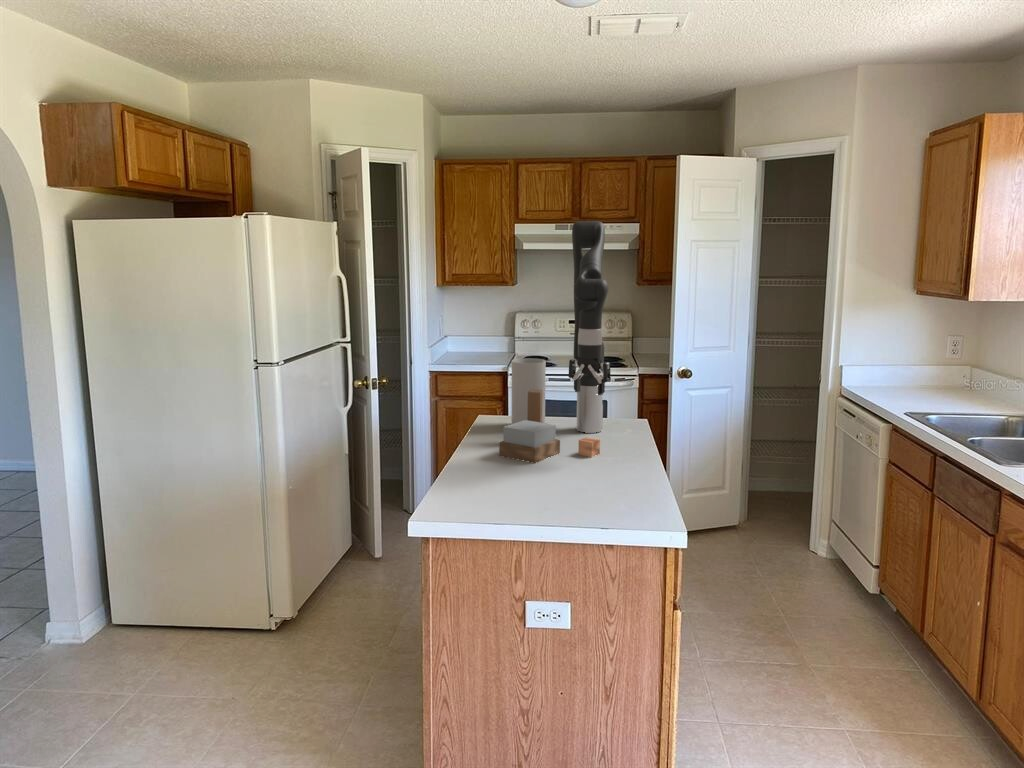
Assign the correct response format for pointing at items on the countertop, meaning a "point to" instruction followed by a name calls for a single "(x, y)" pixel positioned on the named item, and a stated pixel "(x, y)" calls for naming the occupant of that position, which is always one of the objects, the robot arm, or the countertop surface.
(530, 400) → the wooden block
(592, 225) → the robot arm
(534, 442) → the tower top block
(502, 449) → the tower base block
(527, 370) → the cylinder vase
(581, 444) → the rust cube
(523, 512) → the countertop surface
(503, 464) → the countertop surface
